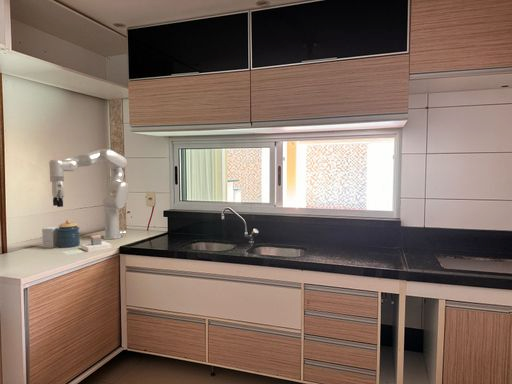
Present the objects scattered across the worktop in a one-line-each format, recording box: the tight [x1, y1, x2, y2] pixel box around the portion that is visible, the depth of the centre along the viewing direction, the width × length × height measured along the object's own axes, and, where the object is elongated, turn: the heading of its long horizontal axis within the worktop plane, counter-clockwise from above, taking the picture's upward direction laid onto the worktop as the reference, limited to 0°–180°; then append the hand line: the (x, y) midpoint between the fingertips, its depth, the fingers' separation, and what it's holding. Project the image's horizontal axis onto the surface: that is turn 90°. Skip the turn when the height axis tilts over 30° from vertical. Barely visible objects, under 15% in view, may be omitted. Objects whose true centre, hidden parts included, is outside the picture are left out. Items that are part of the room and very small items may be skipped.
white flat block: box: [80, 240, 112, 252], centre depth 219 cm, size 14×12×3 cm
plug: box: [90, 234, 102, 245], centre depth 219 cm, size 5×4×8 cm
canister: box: [57, 219, 81, 249], centre depth 226 cm, size 13×13×18 cm
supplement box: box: [41, 226, 59, 249], centre depth 226 cm, size 7×7×13 cm
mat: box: [61, 249, 84, 256], centre depth 209 cm, size 10×10×1 cm
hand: (58, 206), depth 219 cm, fingers open, 9 cm apart
